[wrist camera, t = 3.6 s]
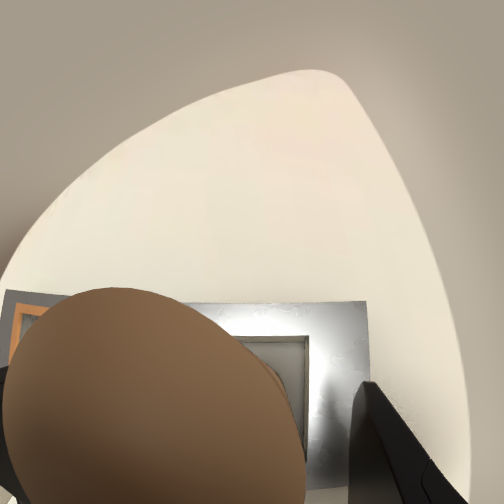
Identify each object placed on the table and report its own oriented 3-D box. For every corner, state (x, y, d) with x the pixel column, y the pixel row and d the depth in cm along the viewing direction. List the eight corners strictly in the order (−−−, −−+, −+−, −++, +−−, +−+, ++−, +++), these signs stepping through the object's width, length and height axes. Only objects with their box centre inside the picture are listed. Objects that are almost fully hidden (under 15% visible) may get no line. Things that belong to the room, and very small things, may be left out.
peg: (235, 444, 13) (101, 593, 1) (195, 383, 14) (-22, 366, 3) (300, 406, 14) (378, 520, 2) (258, 346, 15) (173, 223, 3)
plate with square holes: (353, 312, 15) (367, 299, 13) (353, 469, 12) (366, 485, 9) (27, 299, 17) (3, 287, 15) (17, 411, 14) (-9, 409, 11)
